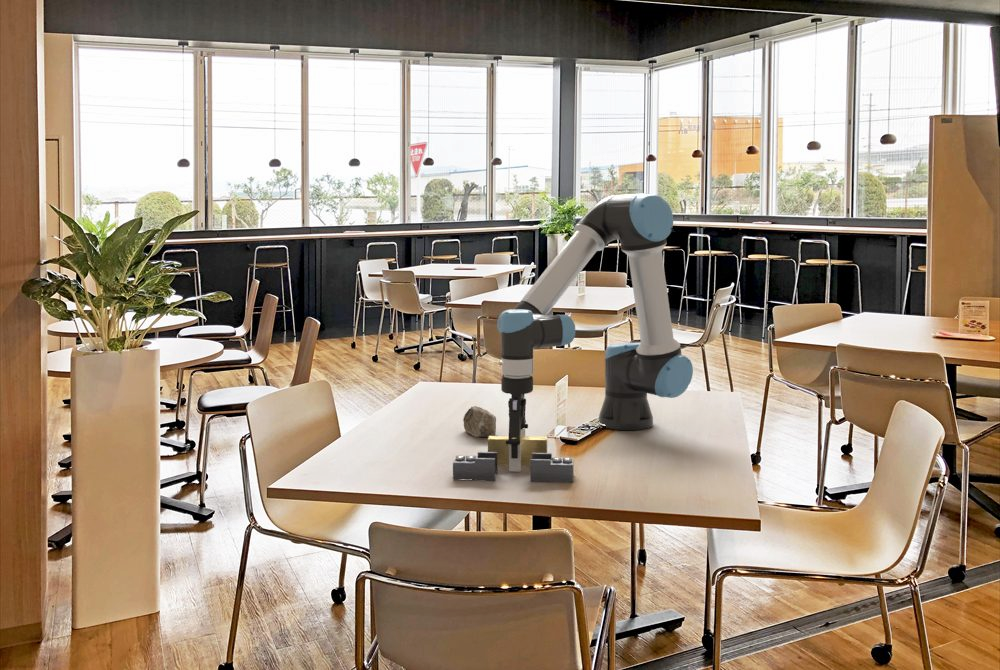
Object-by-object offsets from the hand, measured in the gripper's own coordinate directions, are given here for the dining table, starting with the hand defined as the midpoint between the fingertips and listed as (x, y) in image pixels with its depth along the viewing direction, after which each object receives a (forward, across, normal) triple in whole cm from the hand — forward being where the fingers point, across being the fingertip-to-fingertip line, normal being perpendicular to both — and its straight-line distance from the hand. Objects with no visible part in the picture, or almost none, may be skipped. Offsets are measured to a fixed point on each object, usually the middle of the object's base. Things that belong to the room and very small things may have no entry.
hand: (517, 462), depth 214 cm
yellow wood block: (0, 0, 0) cm, 0 cm away
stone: (+1, -28, -13) cm, 31 cm away
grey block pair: (0, +11, 0) cm, 11 cm away
